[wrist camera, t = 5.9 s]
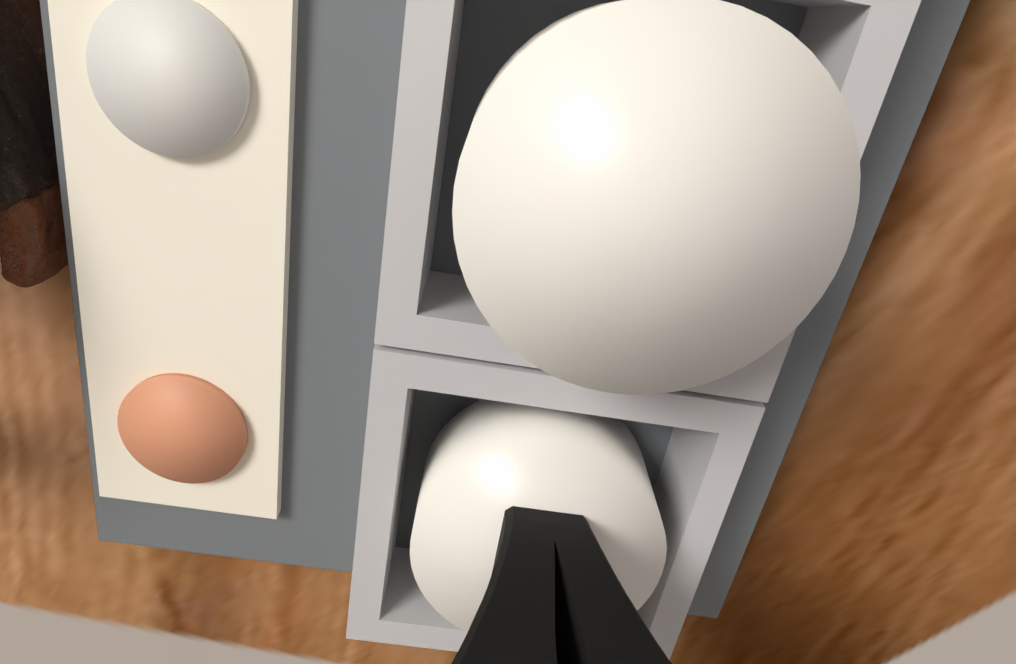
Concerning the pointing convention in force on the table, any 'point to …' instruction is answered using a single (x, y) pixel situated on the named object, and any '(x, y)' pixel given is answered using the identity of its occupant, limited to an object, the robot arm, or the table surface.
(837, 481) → the table surface
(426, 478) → the button
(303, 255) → the button board
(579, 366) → the button middle
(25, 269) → the brown broken pot
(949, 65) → the table surface
